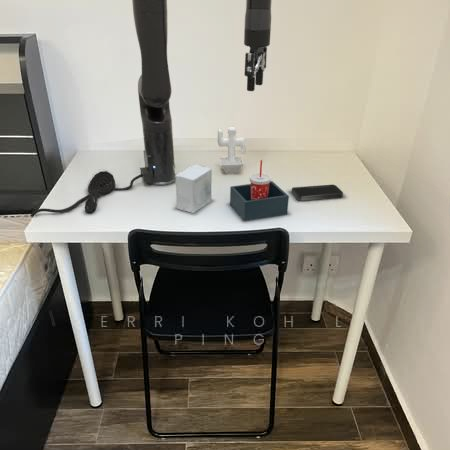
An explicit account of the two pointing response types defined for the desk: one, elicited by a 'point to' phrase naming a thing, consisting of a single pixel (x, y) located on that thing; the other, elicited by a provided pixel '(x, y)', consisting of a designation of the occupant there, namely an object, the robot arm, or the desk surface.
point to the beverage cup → (259, 185)
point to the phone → (317, 192)
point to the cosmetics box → (193, 188)
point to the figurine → (231, 151)
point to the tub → (258, 202)
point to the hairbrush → (99, 181)
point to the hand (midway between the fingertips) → (254, 87)
